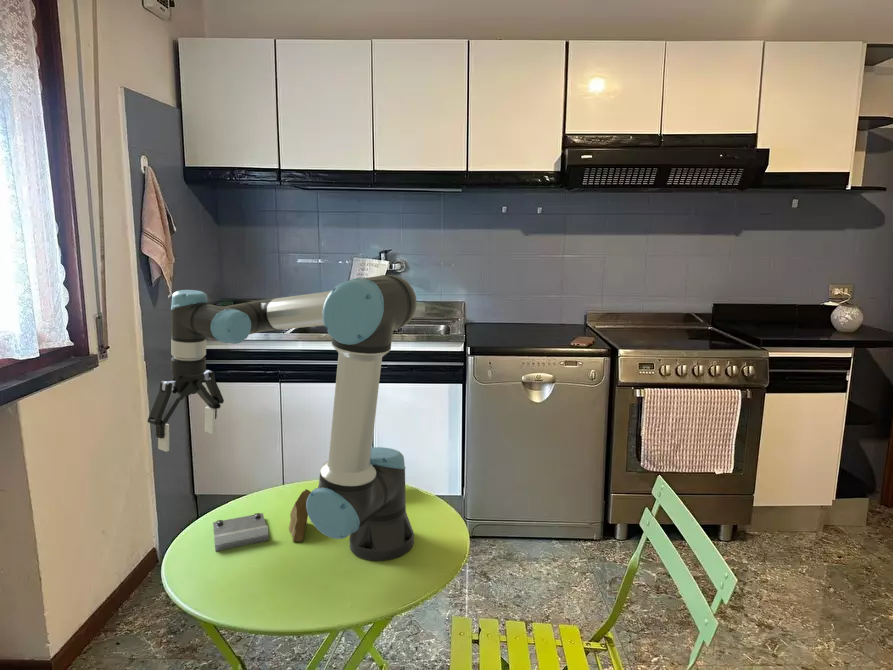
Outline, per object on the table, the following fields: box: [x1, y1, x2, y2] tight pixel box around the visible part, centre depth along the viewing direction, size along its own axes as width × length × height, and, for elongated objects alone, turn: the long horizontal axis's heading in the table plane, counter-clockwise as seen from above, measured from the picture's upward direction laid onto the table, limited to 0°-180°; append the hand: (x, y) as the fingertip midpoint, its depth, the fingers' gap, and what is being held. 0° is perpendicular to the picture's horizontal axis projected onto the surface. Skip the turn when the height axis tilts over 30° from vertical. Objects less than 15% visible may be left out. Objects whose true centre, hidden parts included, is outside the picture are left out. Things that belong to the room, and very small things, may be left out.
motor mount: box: [212, 512, 270, 552], centre depth 147 cm, size 12×12×4 cm
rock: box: [288, 489, 312, 543], centre depth 148 cm, size 11×9×10 cm
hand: (187, 440), depth 146 cm, fingers open, 13 cm apart
